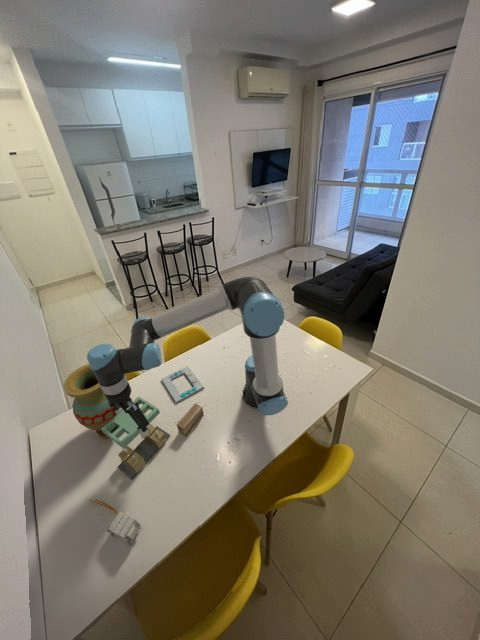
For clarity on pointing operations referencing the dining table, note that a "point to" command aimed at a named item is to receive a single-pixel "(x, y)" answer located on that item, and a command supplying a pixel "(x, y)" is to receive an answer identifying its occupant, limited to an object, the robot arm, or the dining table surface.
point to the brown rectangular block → (190, 419)
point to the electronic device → (184, 395)
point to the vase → (89, 400)
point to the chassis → (142, 451)
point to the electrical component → (122, 525)
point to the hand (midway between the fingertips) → (134, 427)
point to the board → (128, 423)
